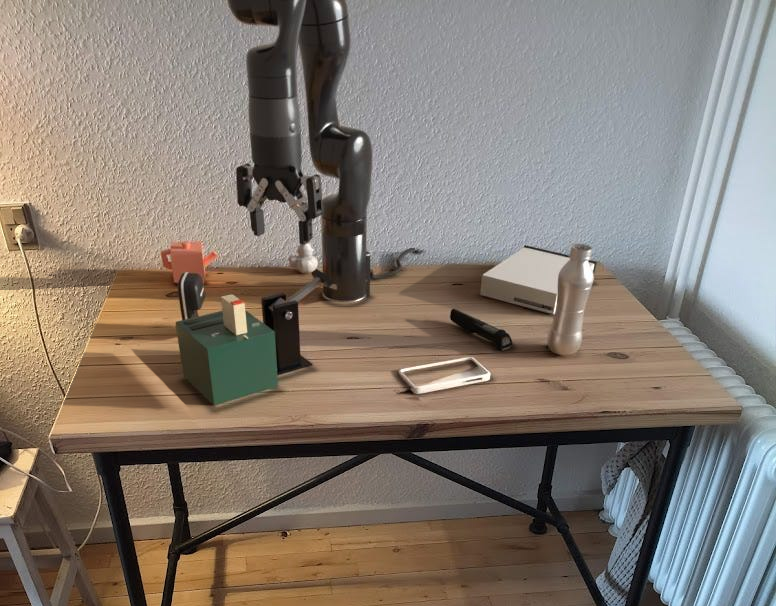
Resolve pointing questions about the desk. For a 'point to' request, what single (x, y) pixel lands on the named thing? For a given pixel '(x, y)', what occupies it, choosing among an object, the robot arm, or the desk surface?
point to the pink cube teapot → (187, 259)
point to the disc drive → (527, 279)
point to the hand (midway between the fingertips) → (281, 238)
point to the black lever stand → (284, 333)
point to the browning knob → (234, 314)
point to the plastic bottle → (571, 301)
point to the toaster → (228, 358)
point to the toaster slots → (205, 319)
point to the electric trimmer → (481, 329)
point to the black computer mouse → (190, 294)
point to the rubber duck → (304, 259)
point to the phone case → (449, 377)
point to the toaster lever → (306, 288)
